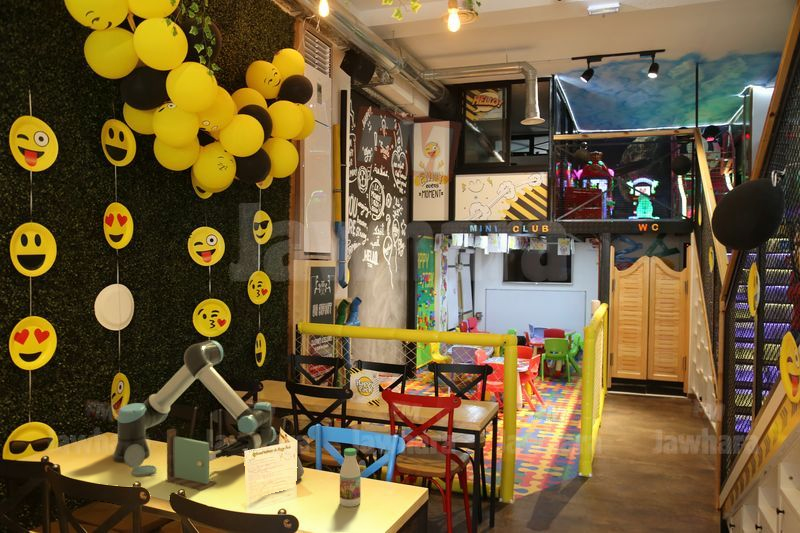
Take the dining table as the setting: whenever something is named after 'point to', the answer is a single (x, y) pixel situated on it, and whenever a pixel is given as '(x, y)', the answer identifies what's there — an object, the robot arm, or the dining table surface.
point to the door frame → (170, 477)
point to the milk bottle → (350, 480)
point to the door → (191, 459)
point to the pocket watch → (138, 461)
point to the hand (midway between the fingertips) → (208, 457)
